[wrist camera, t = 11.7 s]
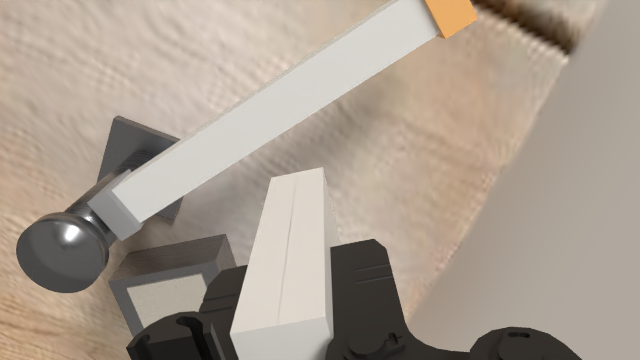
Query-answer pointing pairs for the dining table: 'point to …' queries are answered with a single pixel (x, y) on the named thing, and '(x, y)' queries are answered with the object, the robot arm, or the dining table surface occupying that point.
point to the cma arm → (277, 107)
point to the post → (88, 217)
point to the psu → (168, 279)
